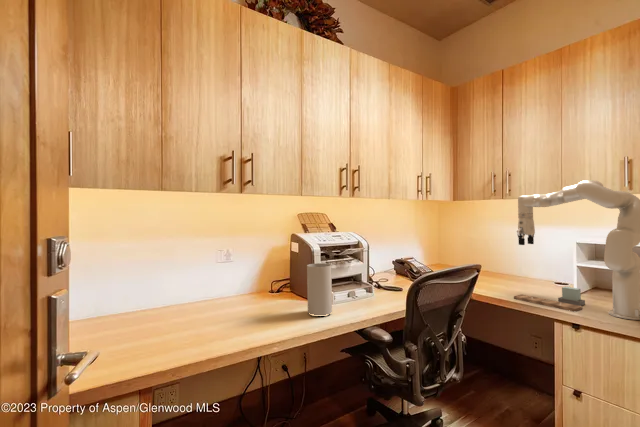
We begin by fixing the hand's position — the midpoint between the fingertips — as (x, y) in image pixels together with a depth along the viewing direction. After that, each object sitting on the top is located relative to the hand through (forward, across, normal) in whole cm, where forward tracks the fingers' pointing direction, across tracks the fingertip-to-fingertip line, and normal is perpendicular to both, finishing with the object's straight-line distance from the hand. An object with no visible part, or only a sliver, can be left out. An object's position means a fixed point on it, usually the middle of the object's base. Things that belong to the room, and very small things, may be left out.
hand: (526, 244), depth 192 cm
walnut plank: (+31, -8, -14) cm, 35 cm away
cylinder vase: (+31, -122, +37) cm, 131 cm away
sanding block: (+31, +4, -21) cm, 38 cm away
